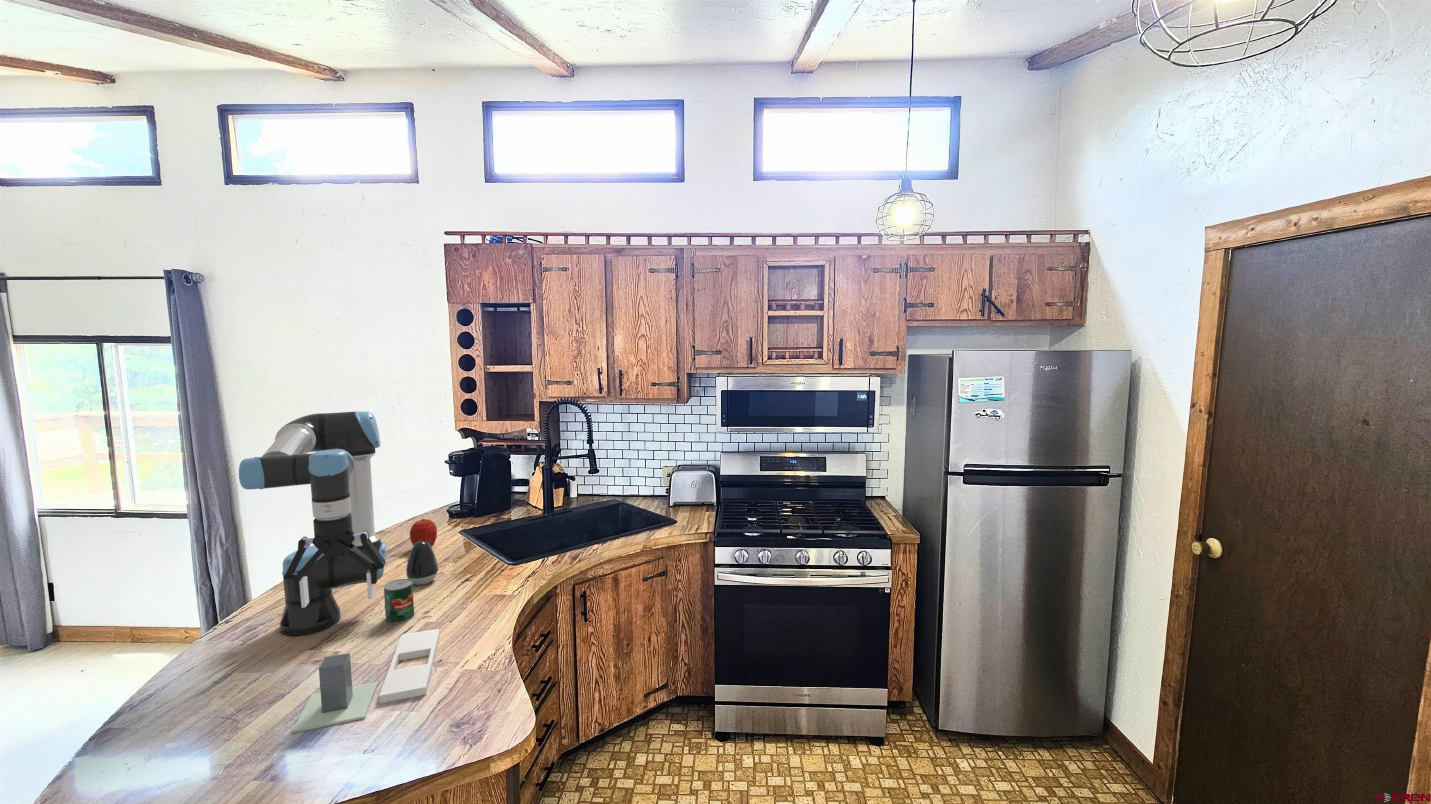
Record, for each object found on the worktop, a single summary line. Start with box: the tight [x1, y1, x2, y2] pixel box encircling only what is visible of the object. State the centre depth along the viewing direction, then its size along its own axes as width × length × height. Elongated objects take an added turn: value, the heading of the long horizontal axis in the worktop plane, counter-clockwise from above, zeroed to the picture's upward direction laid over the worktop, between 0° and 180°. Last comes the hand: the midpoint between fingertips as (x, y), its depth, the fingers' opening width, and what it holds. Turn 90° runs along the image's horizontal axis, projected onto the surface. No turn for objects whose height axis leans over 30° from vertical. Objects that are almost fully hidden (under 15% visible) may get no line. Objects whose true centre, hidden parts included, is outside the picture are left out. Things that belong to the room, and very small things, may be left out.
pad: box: [291, 681, 379, 734], centre depth 132 cm, size 14×14×1 cm
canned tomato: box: [383, 578, 415, 625], centre depth 175 cm, size 8×8×11 cm
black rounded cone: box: [405, 539, 439, 586], centre depth 201 cm, size 10×10×15 cm
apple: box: [409, 518, 438, 548], centre depth 232 cm, size 10×10×14 cm
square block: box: [318, 652, 353, 713], centre depth 132 cm, size 5×5×11 cm
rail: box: [378, 628, 441, 704], centre depth 149 cm, size 10×30×2 cm, turn 20°
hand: (338, 600), depth 135 cm, fingers open, 13 cm apart
